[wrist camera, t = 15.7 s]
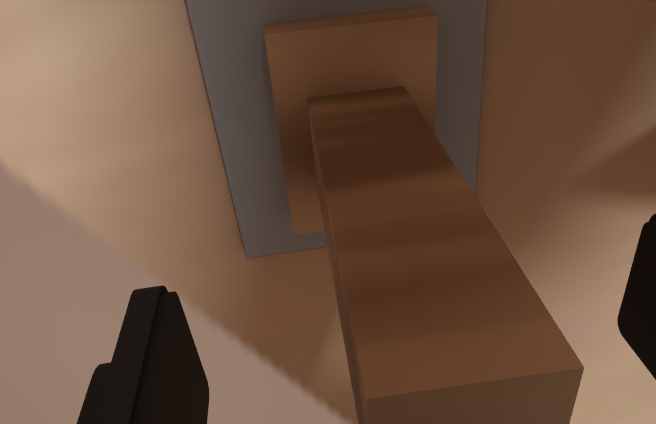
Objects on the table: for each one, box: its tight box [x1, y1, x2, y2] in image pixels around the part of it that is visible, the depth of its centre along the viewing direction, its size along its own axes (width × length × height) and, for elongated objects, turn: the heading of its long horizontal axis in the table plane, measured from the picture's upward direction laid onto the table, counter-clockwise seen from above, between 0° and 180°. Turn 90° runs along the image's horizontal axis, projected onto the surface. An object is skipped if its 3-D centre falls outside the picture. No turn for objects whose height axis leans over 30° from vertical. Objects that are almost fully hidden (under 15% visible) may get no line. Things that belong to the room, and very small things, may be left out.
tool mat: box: [186, 0, 487, 258], centre depth 18 cm, size 10×9×1 cm
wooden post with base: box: [264, 6, 584, 424], centre depth 13 cm, size 7×5×12 cm
